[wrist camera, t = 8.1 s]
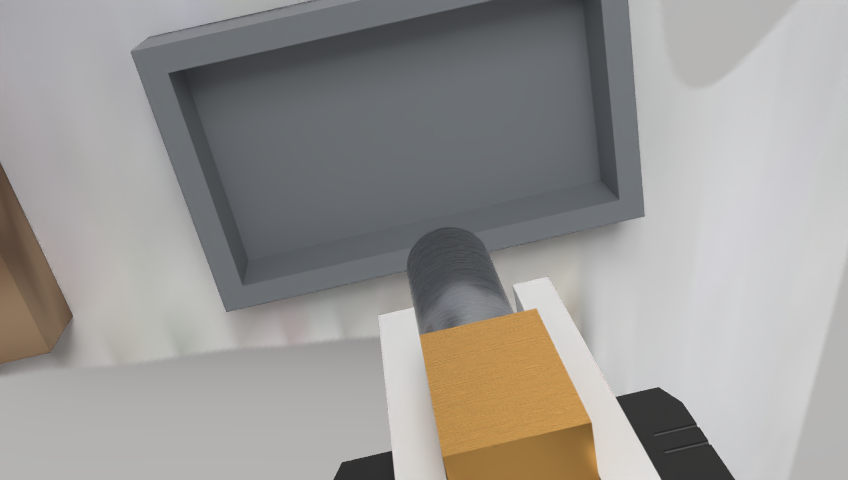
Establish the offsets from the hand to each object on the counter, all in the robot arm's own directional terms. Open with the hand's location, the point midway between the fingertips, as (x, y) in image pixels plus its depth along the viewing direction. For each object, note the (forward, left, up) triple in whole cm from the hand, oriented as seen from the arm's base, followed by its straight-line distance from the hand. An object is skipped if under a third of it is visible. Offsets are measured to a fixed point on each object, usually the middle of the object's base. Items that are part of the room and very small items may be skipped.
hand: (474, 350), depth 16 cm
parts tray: (0, 0, -18) cm, 18 cm away
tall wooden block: (0, 0, -4) cm, 4 cm away
